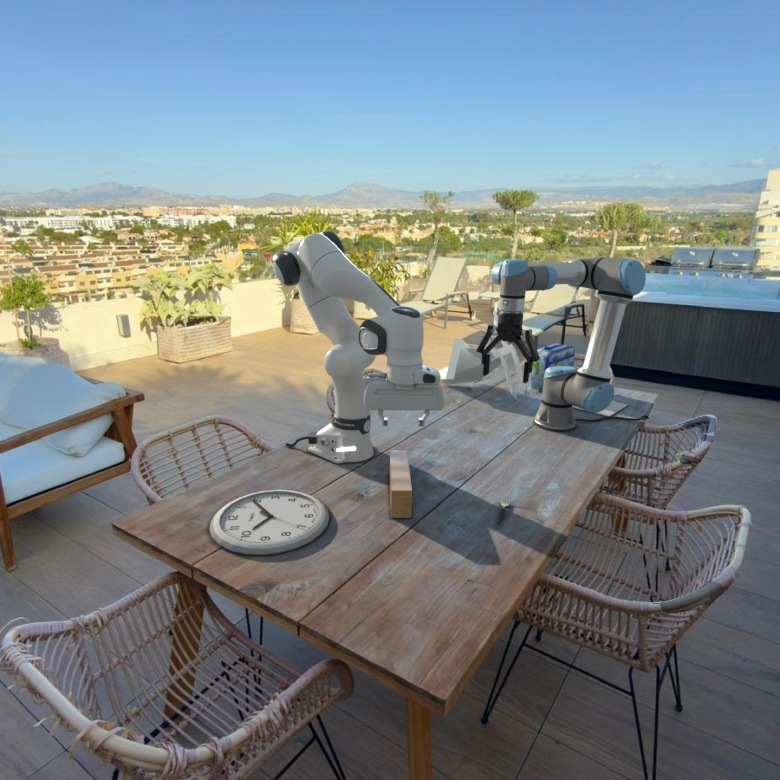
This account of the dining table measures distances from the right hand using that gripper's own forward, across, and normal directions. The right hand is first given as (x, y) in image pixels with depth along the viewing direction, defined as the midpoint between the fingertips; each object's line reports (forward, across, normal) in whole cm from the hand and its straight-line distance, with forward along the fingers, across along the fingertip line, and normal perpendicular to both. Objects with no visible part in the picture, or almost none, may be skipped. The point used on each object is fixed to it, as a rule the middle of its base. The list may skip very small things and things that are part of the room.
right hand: (505, 378), depth 166 cm
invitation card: (+28, +12, +77) cm, 82 cm away
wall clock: (+28, -29, -73) cm, 83 cm away
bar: (+28, -11, -41) cm, 50 cm away
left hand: (+3, -6, -48) cm, 48 cm away
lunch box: (+28, -16, +90) cm, 95 cm away
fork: (+28, +16, -32) cm, 45 cm away
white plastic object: (+28, -39, +61) cm, 78 cm away
